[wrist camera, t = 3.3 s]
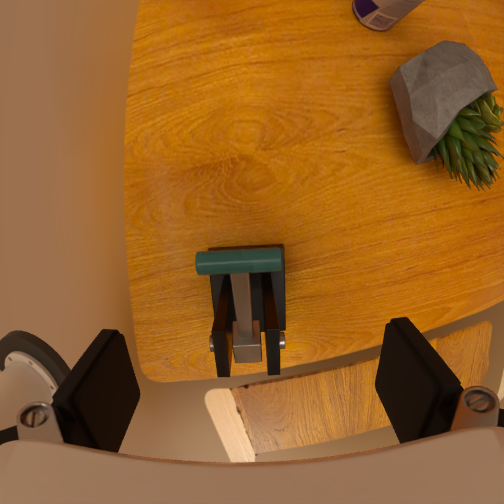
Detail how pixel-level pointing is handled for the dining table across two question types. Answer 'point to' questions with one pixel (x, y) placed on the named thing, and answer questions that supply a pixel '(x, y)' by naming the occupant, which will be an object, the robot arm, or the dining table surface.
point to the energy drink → (382, 12)
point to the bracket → (263, 308)
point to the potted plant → (449, 111)
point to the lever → (241, 292)
